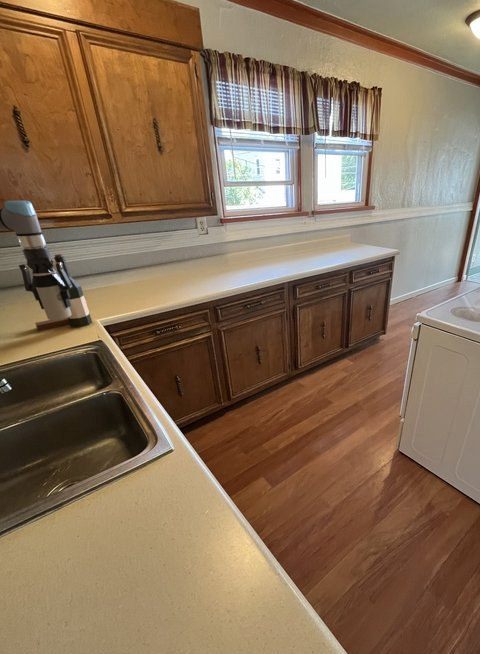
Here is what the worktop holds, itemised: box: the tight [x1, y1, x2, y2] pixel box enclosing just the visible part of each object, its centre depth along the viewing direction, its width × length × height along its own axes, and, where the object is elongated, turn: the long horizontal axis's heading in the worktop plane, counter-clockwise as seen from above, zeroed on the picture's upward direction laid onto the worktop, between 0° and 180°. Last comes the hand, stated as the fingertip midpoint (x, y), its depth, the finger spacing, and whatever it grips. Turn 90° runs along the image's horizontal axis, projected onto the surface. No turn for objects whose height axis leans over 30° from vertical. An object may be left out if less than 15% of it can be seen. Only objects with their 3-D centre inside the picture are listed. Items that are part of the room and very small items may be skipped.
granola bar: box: [35, 318, 70, 332], centre depth 142 cm, size 12×4×2 cm, turn 130°
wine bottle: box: [53, 253, 93, 328], centre depth 137 cm, size 8×8×30 cm
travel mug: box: [31, 270, 72, 320], centre depth 126 cm, size 8×8×18 cm
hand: (56, 307), depth 128 cm, fingers closed on travel mug, 8 cm apart
